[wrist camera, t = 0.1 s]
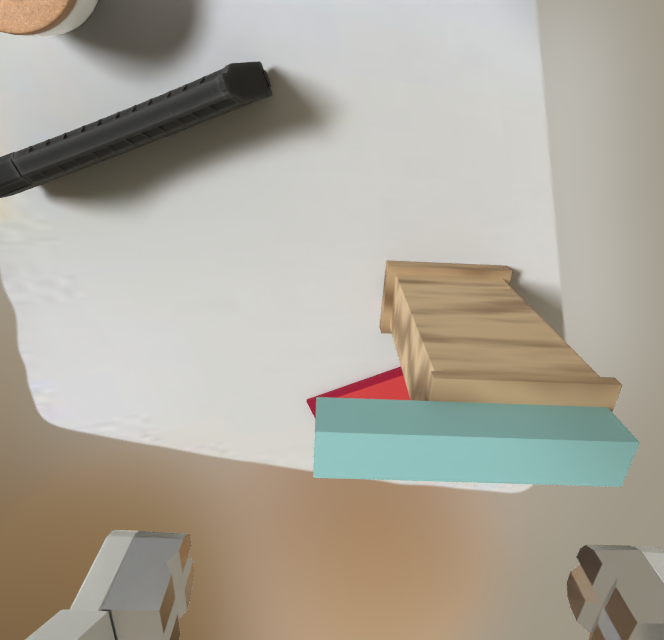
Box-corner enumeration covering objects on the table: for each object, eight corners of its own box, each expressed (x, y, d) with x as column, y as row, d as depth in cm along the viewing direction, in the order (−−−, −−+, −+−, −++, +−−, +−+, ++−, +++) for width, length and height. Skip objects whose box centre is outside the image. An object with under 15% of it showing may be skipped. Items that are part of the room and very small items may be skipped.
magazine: (276, 43, 39) (-87, 171, 35) (289, 84, 41) (-58, 212, 37) (250, 75, 55) (-3, 166, 51) (261, 103, 56) (15, 195, 52)
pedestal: (386, 260, 57) (428, 372, 33) (506, 265, 57) (631, 379, 34) (379, 326, 61) (412, 467, 37) (492, 330, 61) (595, 473, 38)
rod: (316, 396, 34) (315, 431, 31) (607, 407, 35) (639, 442, 31) (314, 439, 36) (313, 477, 32) (592, 448, 37) (621, 486, 33)
